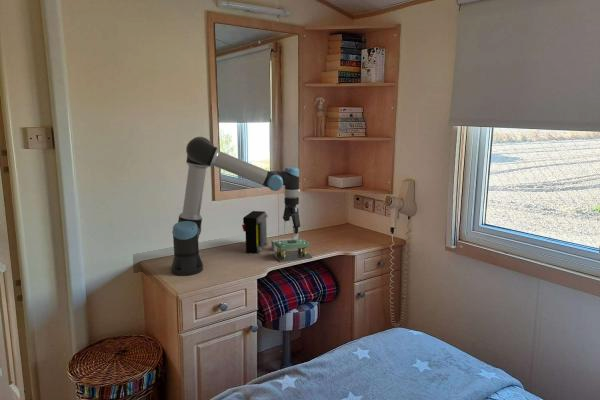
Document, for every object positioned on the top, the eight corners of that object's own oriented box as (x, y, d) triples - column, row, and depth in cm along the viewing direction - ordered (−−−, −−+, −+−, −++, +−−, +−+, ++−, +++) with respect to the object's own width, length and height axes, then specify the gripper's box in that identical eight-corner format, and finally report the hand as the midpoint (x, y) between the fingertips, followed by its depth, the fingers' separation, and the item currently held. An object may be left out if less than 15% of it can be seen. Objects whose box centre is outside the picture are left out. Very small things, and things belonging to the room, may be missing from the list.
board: (280, 250, 225) (280, 245, 225) (274, 245, 234) (274, 239, 234) (309, 246, 231) (309, 241, 230) (302, 241, 240) (302, 236, 240)
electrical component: (260, 254, 239) (259, 218, 235) (242, 252, 241) (241, 217, 237) (269, 244, 256) (268, 211, 252) (252, 243, 258) (251, 210, 254)
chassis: (280, 262, 225) (279, 247, 223) (272, 255, 237) (272, 240, 235) (312, 258, 231) (312, 243, 230) (303, 251, 243) (303, 237, 241)
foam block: (274, 251, 243) (274, 242, 242) (271, 248, 248) (271, 240, 247) (294, 248, 247) (294, 240, 246) (291, 246, 252) (291, 238, 251)
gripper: (307, 200, 218) (306, 241, 222) (290, 192, 240) (289, 229, 244) (293, 201, 215) (292, 242, 219) (277, 193, 238) (277, 230, 242)
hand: (291, 236), depth 232 cm, fingers open, 13 cm apart
